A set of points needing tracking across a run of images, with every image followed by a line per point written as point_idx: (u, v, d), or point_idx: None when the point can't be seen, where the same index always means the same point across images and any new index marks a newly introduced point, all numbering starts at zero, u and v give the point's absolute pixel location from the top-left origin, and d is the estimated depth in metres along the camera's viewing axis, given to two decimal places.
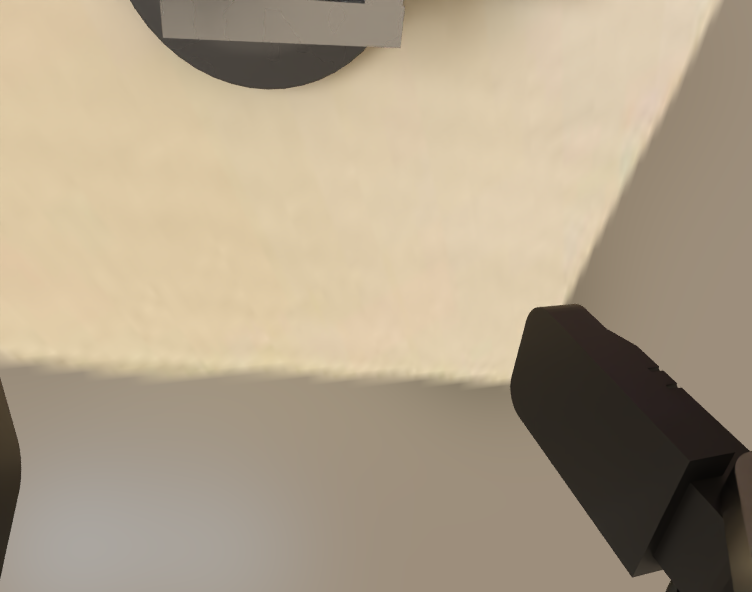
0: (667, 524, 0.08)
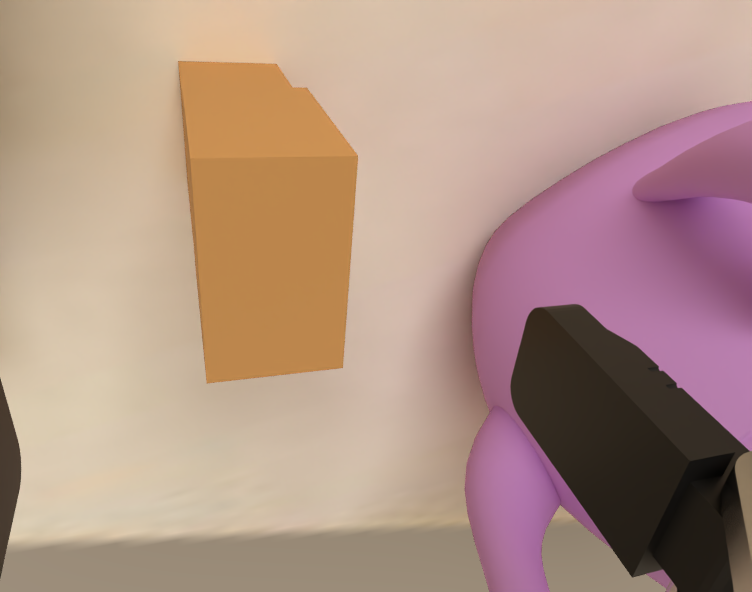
0: (667, 524, 0.08)
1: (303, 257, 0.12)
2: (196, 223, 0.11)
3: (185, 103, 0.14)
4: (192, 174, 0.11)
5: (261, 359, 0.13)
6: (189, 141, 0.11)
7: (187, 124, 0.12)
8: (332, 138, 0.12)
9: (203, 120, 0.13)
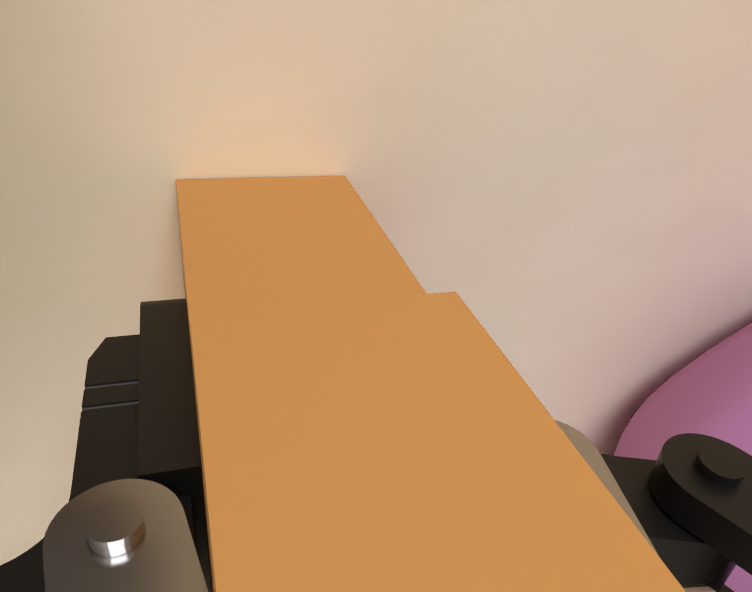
0: None
1: None
2: None
3: (203, 414, 0.05)
4: None
5: None
6: None
7: (218, 573, 0.04)
8: None
9: (260, 530, 0.04)
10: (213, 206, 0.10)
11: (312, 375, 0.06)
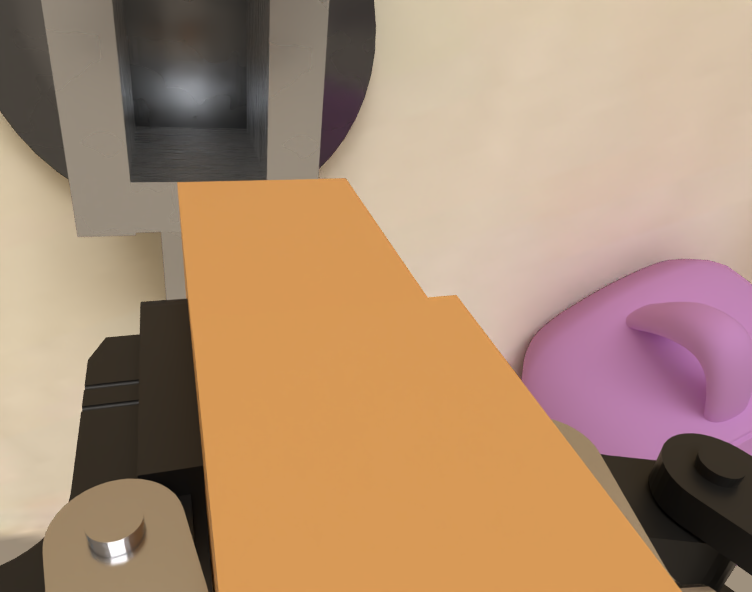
0: None
1: None
2: None
3: (205, 418, 0.05)
4: None
5: None
6: None
7: (220, 577, 0.04)
8: None
9: (262, 536, 0.04)
10: (214, 209, 0.10)
11: (313, 379, 0.06)
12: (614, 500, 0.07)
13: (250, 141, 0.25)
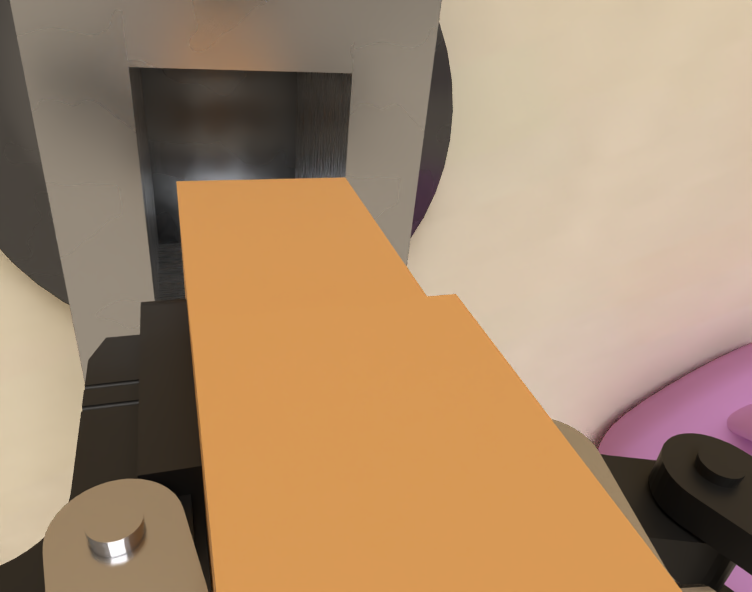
0: None
1: None
2: None
3: (203, 417, 0.05)
4: None
5: None
6: None
7: (218, 577, 0.04)
8: None
9: (262, 536, 0.04)
10: (213, 208, 0.10)
11: (312, 378, 0.06)
12: (614, 500, 0.07)
13: None
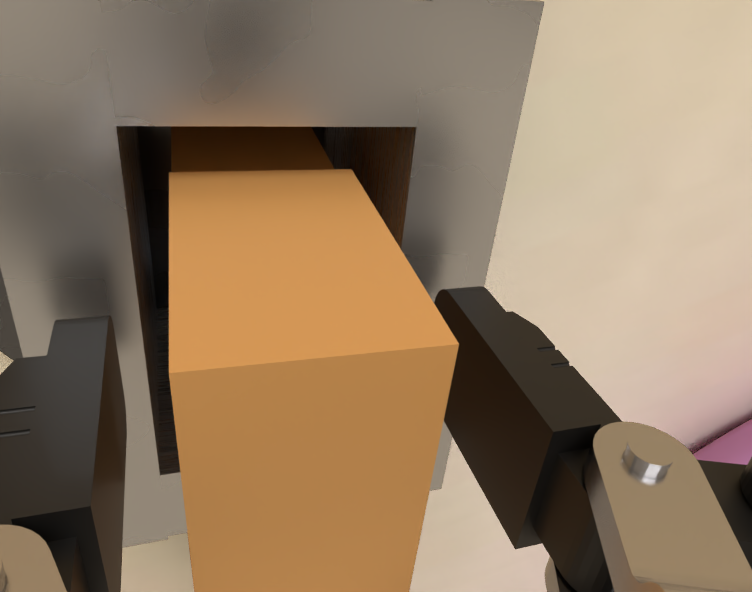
0: (541, 496, 0.08)
1: (357, 486, 0.08)
2: (181, 462, 0.07)
3: (171, 214, 0.09)
4: (173, 395, 0.06)
5: None
6: (170, 319, 0.07)
7: (170, 269, 0.08)
8: (409, 293, 0.08)
9: (197, 256, 0.08)
10: None
11: (241, 202, 0.09)
12: (718, 505, 0.07)
13: None
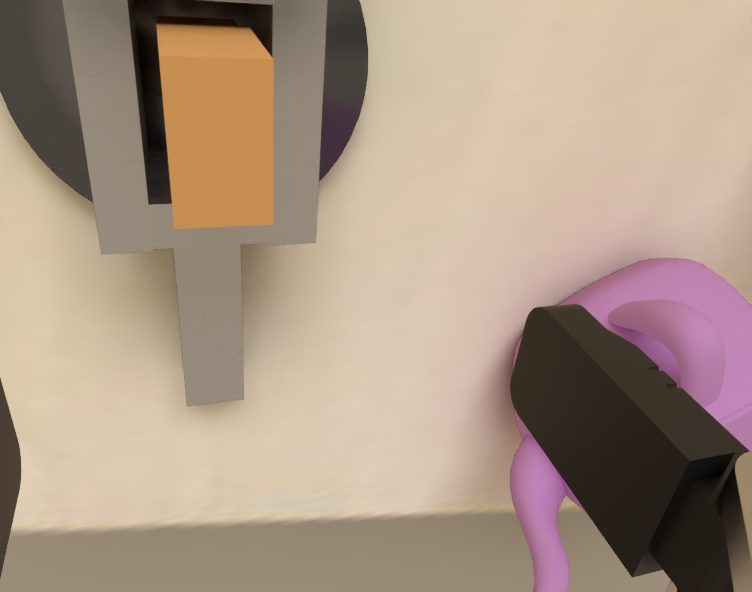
0: (667, 524, 0.08)
1: (239, 133, 0.18)
2: (164, 103, 0.17)
3: (158, 32, 0.19)
4: (160, 67, 0.16)
5: (212, 213, 0.19)
6: (159, 48, 0.17)
7: (158, 41, 0.18)
8: (259, 51, 0.18)
9: (170, 40, 0.18)
10: (171, 21, 0.24)
11: (191, 31, 0.20)
12: None
13: None
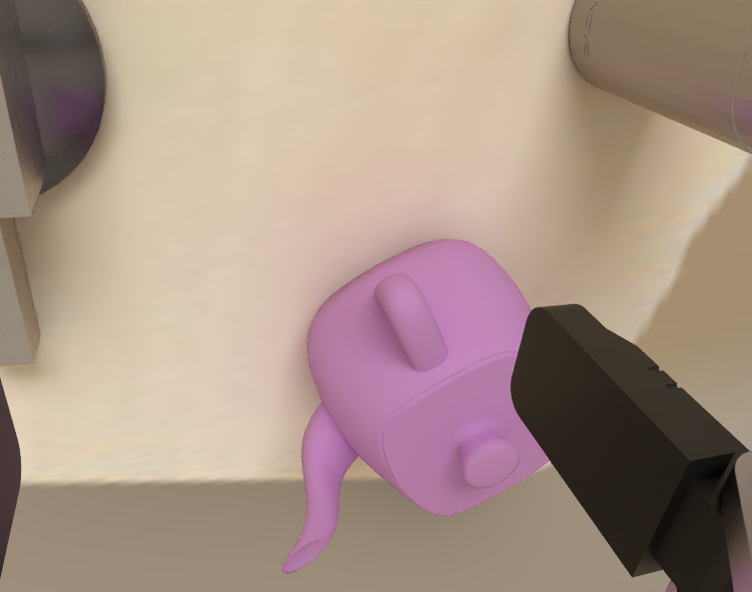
0: (667, 524, 0.08)
1: None
2: None
3: None
4: None
5: None
6: None
7: None
8: None
9: None
10: None
11: None
12: None
13: None
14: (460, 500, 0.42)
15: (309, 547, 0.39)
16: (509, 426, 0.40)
